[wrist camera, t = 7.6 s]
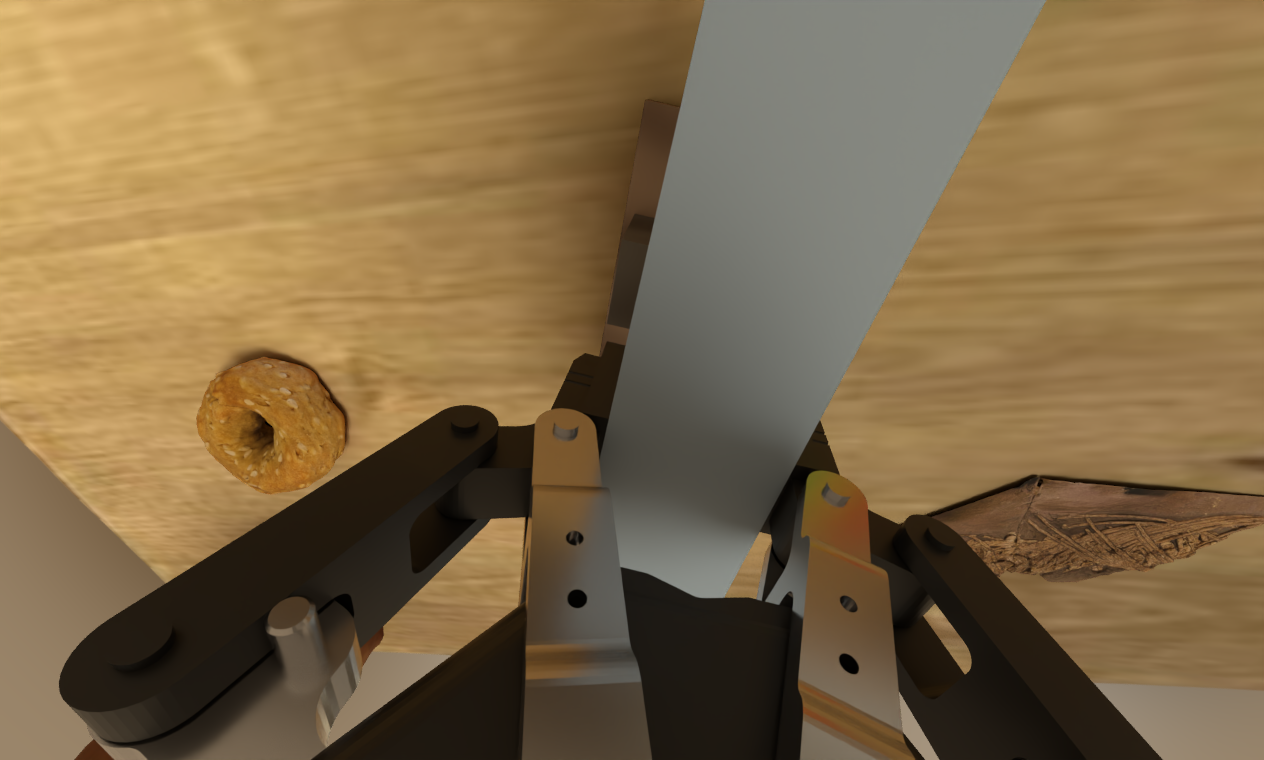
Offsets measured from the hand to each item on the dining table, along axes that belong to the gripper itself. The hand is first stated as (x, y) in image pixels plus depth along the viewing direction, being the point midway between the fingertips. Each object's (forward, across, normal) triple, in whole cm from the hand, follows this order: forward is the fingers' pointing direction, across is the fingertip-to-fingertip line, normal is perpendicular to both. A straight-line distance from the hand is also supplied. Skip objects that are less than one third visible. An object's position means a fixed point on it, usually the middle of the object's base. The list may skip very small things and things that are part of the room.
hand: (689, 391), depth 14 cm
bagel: (+15, +26, +19) cm, 36 cm away
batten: (+1, 0, 0) cm, 1 cm away
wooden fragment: (+16, -31, +13) cm, 37 cm away
